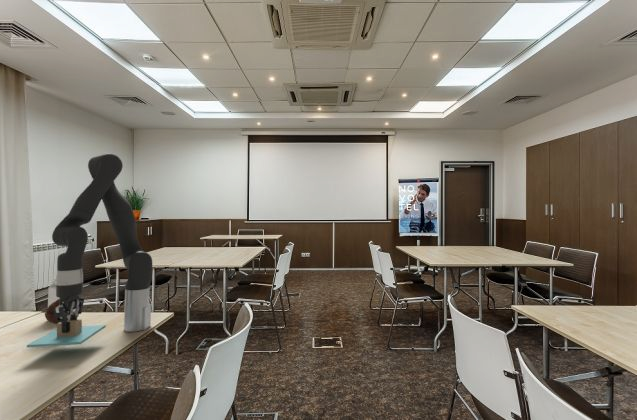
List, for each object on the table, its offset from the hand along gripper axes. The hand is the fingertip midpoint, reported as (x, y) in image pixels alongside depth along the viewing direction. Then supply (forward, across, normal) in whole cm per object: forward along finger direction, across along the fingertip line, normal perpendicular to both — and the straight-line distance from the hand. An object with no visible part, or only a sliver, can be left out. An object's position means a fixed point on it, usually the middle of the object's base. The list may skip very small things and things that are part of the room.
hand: (69, 330), depth 111 cm
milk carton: (+8, +39, +26) cm, 47 cm away
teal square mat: (+2, 0, 0) cm, 2 cm away
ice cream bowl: (+8, +18, +14) cm, 24 cm away
